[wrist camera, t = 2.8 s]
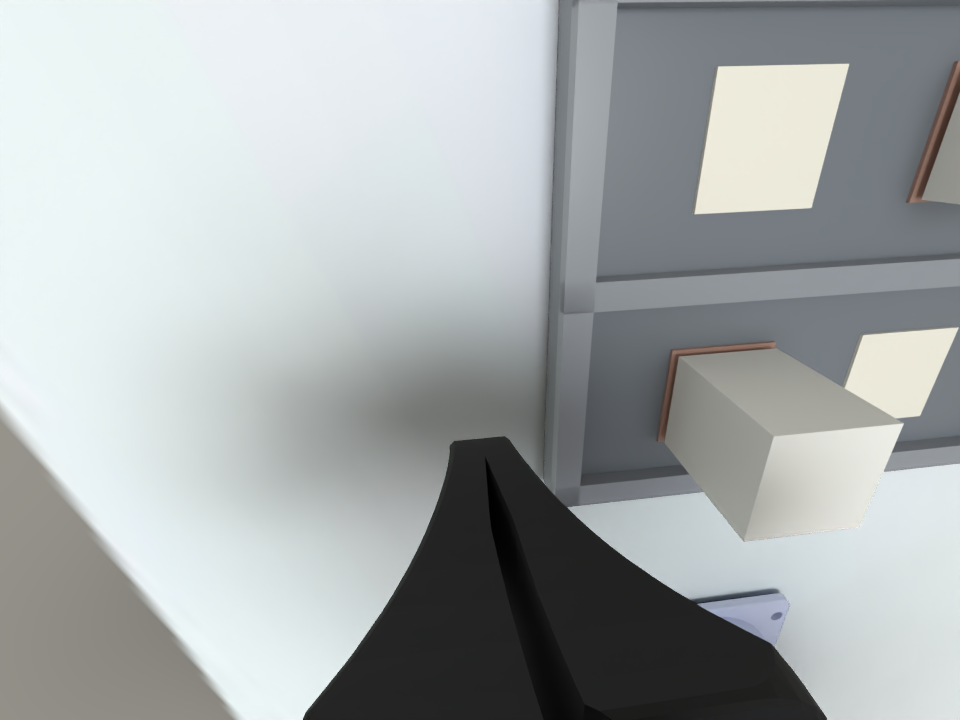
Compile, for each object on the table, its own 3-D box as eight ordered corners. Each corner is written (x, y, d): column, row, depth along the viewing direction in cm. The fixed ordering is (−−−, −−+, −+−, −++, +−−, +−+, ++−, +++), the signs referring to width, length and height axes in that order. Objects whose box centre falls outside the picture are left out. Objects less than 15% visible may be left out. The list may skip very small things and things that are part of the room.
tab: (754, 433, 15) (859, 527, 11) (664, 442, 15) (743, 541, 11) (776, 348, 14) (904, 423, 10) (678, 356, 13) (774, 436, 10)
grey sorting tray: (954, 434, 18) (997, 459, 17) (543, 478, 16) (554, 508, 15) (1178, -27, 12) (1276, -48, 11) (560, -25, 10) (581, -49, 9)
